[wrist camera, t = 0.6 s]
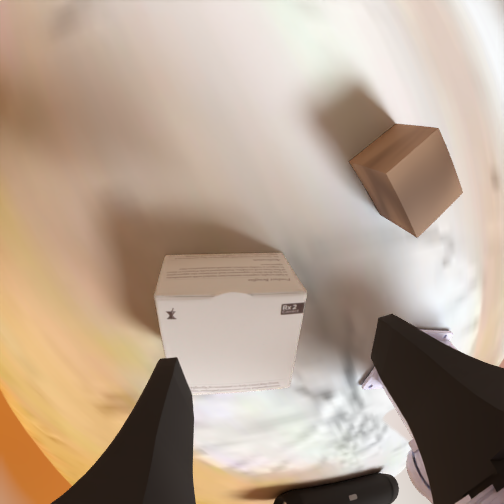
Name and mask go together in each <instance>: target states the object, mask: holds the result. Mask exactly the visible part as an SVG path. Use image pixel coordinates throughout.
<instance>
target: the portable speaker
mask: <svg viewBox="0 0 504 504" xmlns="http://www.w3.org/2000/svg"><path fill="white" fill-rule="evenodd" d="M398 491H399V487H398V483H397V481H396V479H395V478H394V477H393V476H391V475H389V474H381V473H376V474H371V475H367V476H363V477H359V478H355V479H351V480H347V481H343V482H338V483H333V484H328V485H323V486H317V487H311V488H305V489H298V490H291V491H289V492H287V493H285V494H283V495H280V496H278V497H277V498H276V499H275V501H274V504H391V503H392V502H393V501H394V500H395V499H396V498H397V495H398Z"/></svg>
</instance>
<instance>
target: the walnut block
mask: <svg viewBox="0 0 504 504" xmlns="http://www.w3.org/2000/svg"><path fill="white" fill-rule="evenodd" d="M349 163H350V164H351V166H352V168H353V169H354V171H355V172H356V174H357V176H358V177H359V179H360V180H361V182H362V184H363V185H364V187H365V189H366V190H367V192H368V194H369V195H370V197H371V199H372V201H373V202H374V204H375V206H376V208H377V209H378V211H379V213H380V215H381V216H383V217H385V218H386V219H388V220H390V221H391V222H393V223H395V224H396V225H398V226H399V227H401V228H403V229H404V230H406V231H407V232H409V233H411V234H412V235H414V236H415V237H419V236H420V235H421V234H422V233H423V232H424V231H425V230H426V229H427V228H428V227H429V226H430V225H431V224H432V223H433V222H434V221H435V220H436V219H437V218H438V217H439V216H440V215H441V214H442V213H443V212H444V211H445V210H446V209H447V208H448V207H449V206H450V205H451V204H452V203H453V202H454V201H455V200H456V199H457V198H458V197H459V196H460V195H461V194H462V193H463V191H462V188H461V185H460V182H459V179H458V176H457V173H456V171H455V168H454V165H453V162H452V160H451V157H450V154H449V152H448V149H447V147H446V144H445V142H444V140H443V137H442V135H441V133H440V130H439V128H433V127H424V126H415V125H404V124H395V125H394V126H393V127H391V128H390V129H389V130H388V131H386V132H385V133H384V134H383V135H381V136H380V137H379V138H378V139H376V140H375V141H374V142H373V143H371V144H370V145H369V146H368V147H366V148H365V149H364V150H363V151H361V152H360V153H359V154H358V155H356V156H355V157H354V158H353V159H351V160H350V161H349Z"/></svg>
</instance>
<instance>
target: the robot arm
mask: <svg viewBox="0 0 504 504" xmlns="http://www.w3.org/2000/svg"><path fill="white" fill-rule="evenodd" d="M452 335H453V333H452V332H451V331H438V330H421V329H418V328H416V327H414V326H413V325H411V324H409V323H408V322H406V321H404V320H402V319H401V318H399V317H397V316H395V315H393V314H390V315H387V316H383V317H380V318H378V324H377V329H376V334H375V339H374V344H373V349H372V353H371V359H372V361H373V363H374V366H375V367H374V369H373V370H372V371H371V373H370V374H369V376H368V377H367V378H366V380H365V381H364V383H363V384H362V388H363V389H378V388H383V389H384V390H385V392H386V394H387V395H388V397H389V399H390V400H391V402H392V404H393V405H394V407H395V409H396V411H397V412H398V414H399V415H400V417H401V419H402V421H403V422H404V424H405V426H406V428H407V429H408V431H409V433H410V434H411V436H412V438H413V440H411V441H410V442H409V445H410V447H411V449H412V450H410V451H409V453H408V455H407V461H406V467H407V471H408V475H409V477H410V479H411V481H412V483H413V485H414V486H415V488H416V489H417V490H418V491H419V492H420V493H421V494H422V495H423V496H425V497H426V498H427V499H428V500H429V501H430V502H431V503H432V504H504V368H501V367H497V366H494V365H491V364H488V363H485V362H483V361H480V360H478V359H475V358H473V357H470V356H468V355H466V354H464V353H462V352H460V351H458V350H457V349H456V348H455V347H454V346H453V344H452V343H451V342H450V341H449V340H450V339H451V337H452ZM193 433H194V414H193V401H192V393H191V390H190V388H189V386H188V383H187V381H186V378H185V376H184V373H183V371H182V368H181V366H180V363H179V360H178V358H177V357H174V358H164V359H160V360H159V361H158V363H157V365H156V367H155V369H154V371H153V373H152V375H151V377H150V379H149V381H148V383H147V385H146V387H145V389H144V391H143V392H142V394H141V396H140V398H139V400H138V401H137V403H136V405H135V407H134V409H133V410H132V412H131V414H130V415H129V417H128V418H127V420H126V422H125V423H124V425H123V427H122V428H121V430H120V431H119V433H118V434H117V436H116V437H115V438H114V440H113V441H112V443H111V444H110V445H109V447H108V448H107V449H106V451H105V452H104V453H103V454H102V455H101V457H100V458H99V459H98V460H97V461H96V463H95V464H94V465H93V466H92V467H91V468H90V469H89V470H88V472H87V473H86V474H85V475H84V476H83V477H82V478H80V479H79V480H78V481H77V482H76V483H75V484H74V485H73V486H72V487H71V488H70V489H69V490H68V491H67V492H65V493H64V494H63V495H62V496H60V497H59V498H58V499H56V500H55V501H54V502H52V503H51V504H196V502H195V494H194V486H193Z"/></svg>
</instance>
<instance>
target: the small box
mask: <svg viewBox="0 0 504 504" xmlns="http://www.w3.org/2000/svg"><path fill="white" fill-rule="evenodd" d="M306 298H307V291H306V289H305V288H304V286H303V285H302V283H301V282H300V280H299V279H298V277H297V276H296V274H295V272H294V271H293V269H292V268H291V266H290V264H289V263H288V261H287V259H286V258H285V256H284V255H283V253H237V254H190V255H165V257H164V260H163V263H162V267H161V271H160V275H159V278H158V282H157V286H156V290H155V293H154V301H155V307H156V312H157V318H158V323H159V328H160V333H161V338H162V343H163V348H164V353H165V357H166V358H174V357H177V358H178V360H179V363H180V366H181V368H182V371H183V373H184V376H185V378H186V381H187V383H188V386H189V388H190V390H191V393H192V395H197V394H220V393H237V392H250V391H261V390H271V389H281V388H289V386H290V382H291V378H292V373H293V368H294V362H295V357H296V352H297V346H298V341H299V336H300V331H301V326H302V320H303V315H304V309H305V303H306Z"/></svg>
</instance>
